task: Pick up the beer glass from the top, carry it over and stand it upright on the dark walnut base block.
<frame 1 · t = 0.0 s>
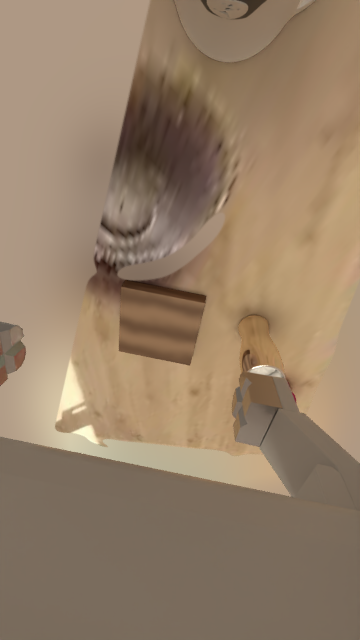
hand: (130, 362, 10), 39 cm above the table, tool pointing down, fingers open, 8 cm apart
beer glass: (253, 326, 54), on the table
walnut base: (161, 321, 56), on the table
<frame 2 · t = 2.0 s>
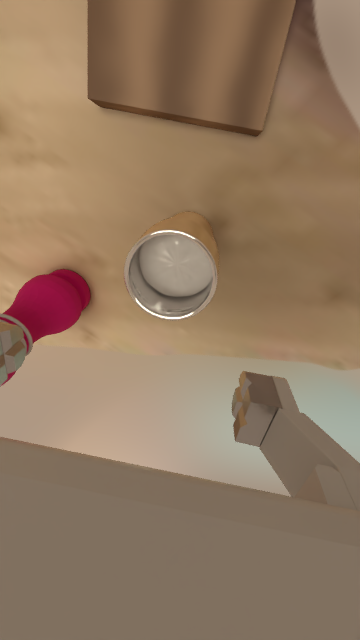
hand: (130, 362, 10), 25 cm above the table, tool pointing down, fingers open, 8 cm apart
beer glass: (188, 238, 32), on the table
pepper mill: (69, 290, 37), on the table
walnut base: (193, 6, 22), on the table
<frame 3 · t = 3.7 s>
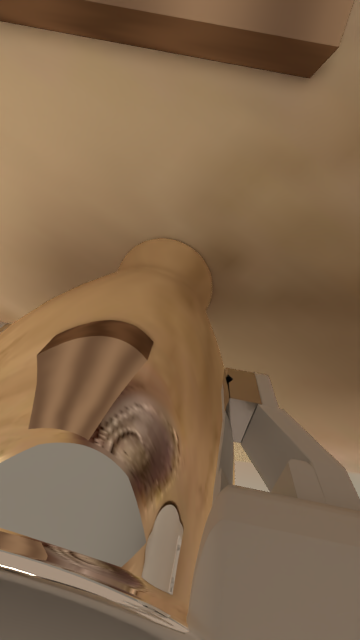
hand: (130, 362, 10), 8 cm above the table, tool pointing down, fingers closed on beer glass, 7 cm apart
beer glass: (165, 285, 17), on the table, touching gripper
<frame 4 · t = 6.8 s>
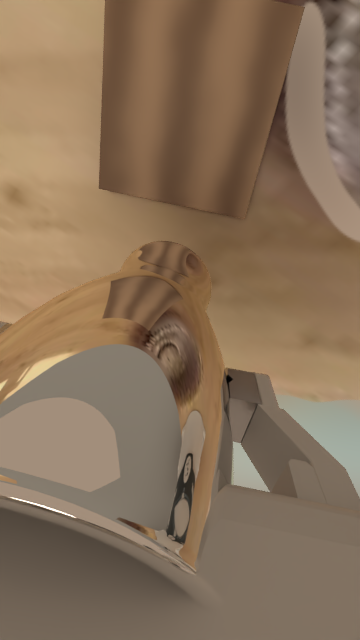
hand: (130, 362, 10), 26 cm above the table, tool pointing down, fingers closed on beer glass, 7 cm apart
beer glass: (165, 286, 18), point 17 cm above the table, touching gripper
walnut base: (188, 118, 27), on the table
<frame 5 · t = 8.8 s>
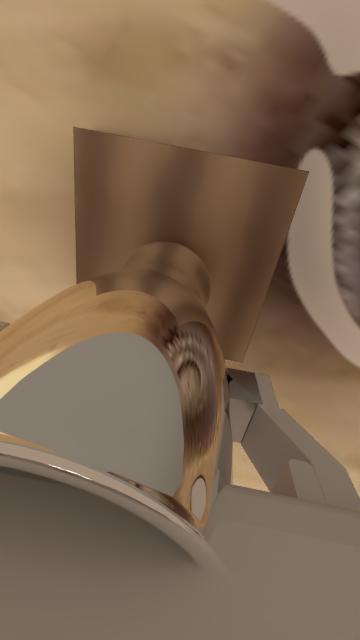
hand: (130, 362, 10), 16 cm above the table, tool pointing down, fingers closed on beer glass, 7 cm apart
beer glass: (166, 286, 18), point 7 cm above the table, touching gripper
walnut base: (176, 256, 24), on the table
when the fingers open (12 cm above the table, at t = 10.1 s): beer glass stays where it is, resting on walnut base.
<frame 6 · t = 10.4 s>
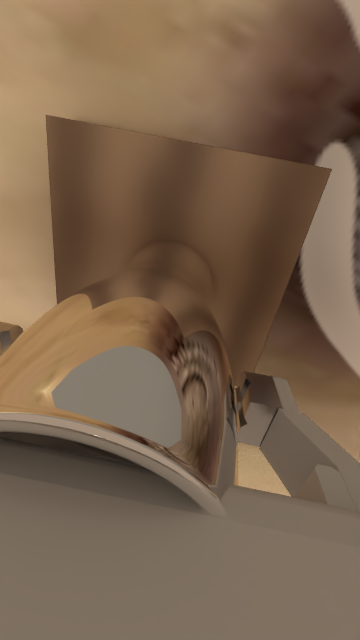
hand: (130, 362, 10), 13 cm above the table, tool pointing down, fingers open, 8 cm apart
beer glass: (169, 284, 18), point 3 cm above the table, touching walnut base
walnut base: (172, 266, 21), on the table
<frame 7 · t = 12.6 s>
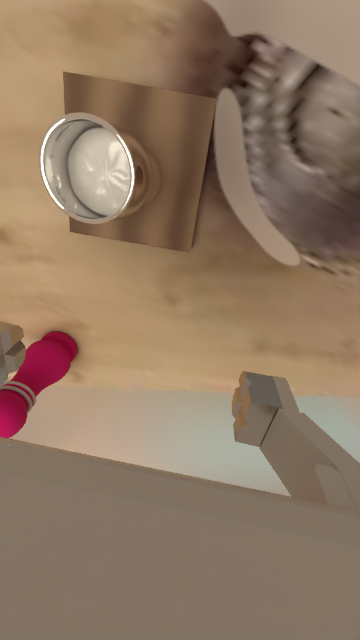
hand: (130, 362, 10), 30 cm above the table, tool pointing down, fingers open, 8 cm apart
beer glass: (136, 177, 31), point 3 cm above the table, touching walnut base
pepper mill: (61, 345, 47), on the table
walnut base: (139, 174, 33), on the table
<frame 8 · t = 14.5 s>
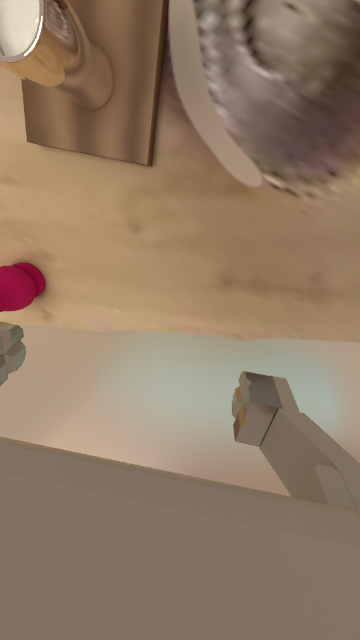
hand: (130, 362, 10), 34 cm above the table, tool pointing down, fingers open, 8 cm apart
beer glass: (89, 78, 31), point 3 cm above the table, touching walnut base
pepper mill: (28, 279, 47), on the table
walnut base: (96, 81, 33), on the table
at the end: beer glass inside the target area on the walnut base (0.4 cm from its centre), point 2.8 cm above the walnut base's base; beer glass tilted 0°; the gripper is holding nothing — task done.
